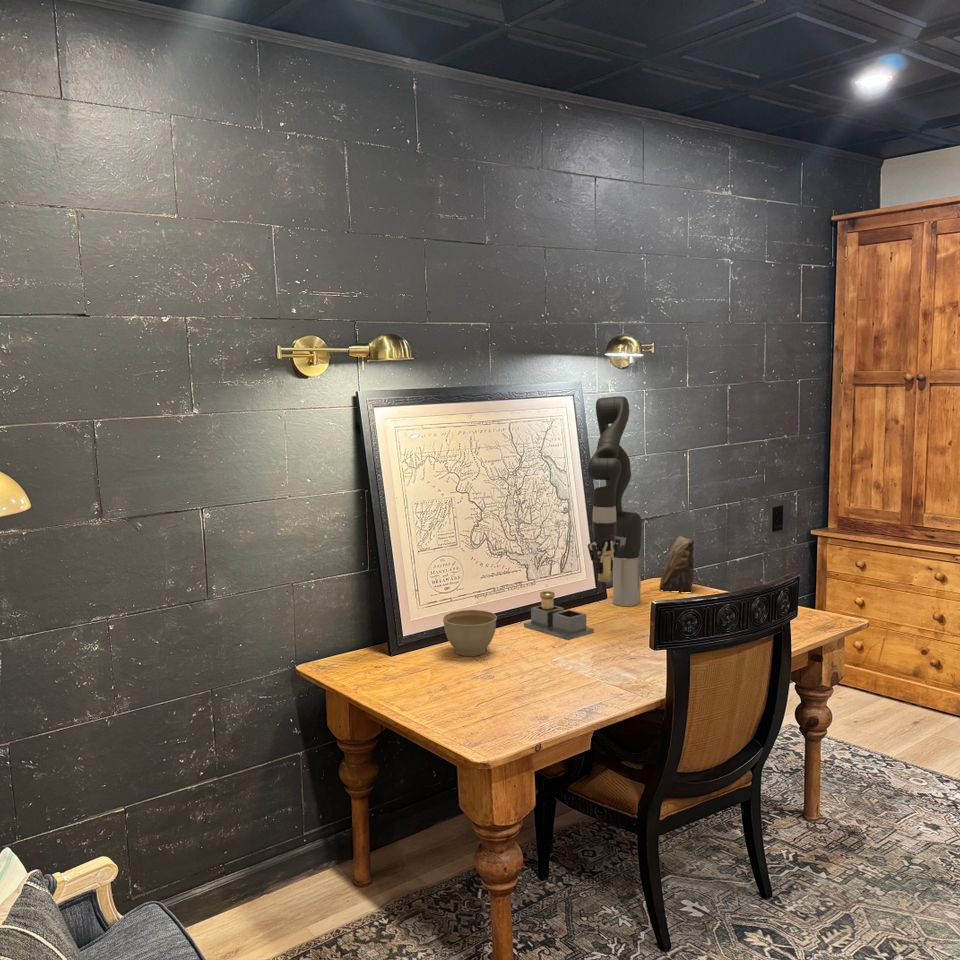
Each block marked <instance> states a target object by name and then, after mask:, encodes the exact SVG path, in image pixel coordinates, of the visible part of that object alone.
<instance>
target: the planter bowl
mask: <svg viewBox="0 0 960 960" xmlns="http://www.w3.org/2000/svg"><path fill="white" fill-rule="evenodd" d="M497 618H498V617H497V615H496V614H495V613H493V612H491V611H487V610H481V609H463V610H462V609H461V610H457V611H451V612H449V613H446V614H445V615H443V617H442V620H443V621H442V622H443V626H444V632H445V635H446V637H447V640H448V641H449V643H450V645H451V647H453V649H454V653H455V654H457V655H459V656H465V657H476V656H480V655H481V656H482V655H484V654H485V653H486V652H487V651H488V646H490V644H491V643H492V640H493V639H494V636H495V634H496V633H495V632H496V627H497V620H498V619H497Z"/></svg>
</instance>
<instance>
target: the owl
mask: <svg viewBox="0 0 960 960" xmlns="http://www.w3.org/2000/svg"><path fill="white" fill-rule="evenodd" d="M694 544H695V540H694V539H693V538H686V537H684V536H682V535H681V534H680V535H678V537H677V538H676V540H675V542H674V544H673V545H672V546H671V548H670V550H669V551H668V555H667V558H666V561H665V564H664V567H663V570H662V573H661V577H660V583H659V590H663V591H662V592H665V591H679V592H691V591H692V587H693V582H694V557H693V556H694V555H693V553H694V549H695V548H694Z"/></svg>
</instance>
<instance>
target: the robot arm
mask: <svg viewBox="0 0 960 960" xmlns="http://www.w3.org/2000/svg"><path fill="white" fill-rule="evenodd" d="M595 413H596V420H597V426H598V431H599V438H598V441H597V446H596V450H595V452H594V454H593V455H592V456H591V458H590V459H589V462H588V465H587V475H588V477H589V478H590V479H592V480H595V481H605V485H604V486H599V487H595V489H594V490H593V495H592V496H593V506H592V507H593V508H592V535H594V539H593V542H592V543H588V544H587V548H588V554H589V557H590V560H591V561H594V562H595V572H596V574H597V575H598V574H602V573H603V557H604V555H605V552H606V551H607V550H612V554H611V572H612V573H613V574H612V588H613V589H612V604H614V605H615V606H620V607H622V606H623V607H633V606H637V605H639V604H640V603H641V598H642V597H641V588H642V587H641V586H642V584H641V582H642V579H641V576H640V551H641V546H642V533H643V532H642V531H643V522H642V516H641V515H640V514H639V513H637V512H633V511H632V512H631V511H623V506H622V501H623V495H624V493H625V491H626V489H627V488H628V486H629V484H630V481H631V478H632V468H631V460H630V457H629V455H628V453H627V452H626V450H624V448H623V447H622V446H621V445H620V442H621V440H622V436H623V435H624V431H625V429H626V426H627V424H628V421H629V418H630V404H629V400H628V399H627V397H625V396H620V395H618V396H609V397H608V396H607V397H600V398H597V399H596V402H595ZM615 537H616V538H615ZM617 537H618V538H617ZM620 538H625V543H624V544H623V545H621V543H622V540H621V539H620ZM597 550H598V551H602V552H601V553H600V552H598V551H597ZM599 555H600V558H599Z"/></svg>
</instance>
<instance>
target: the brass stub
mask: <svg viewBox="0 0 960 960" xmlns="http://www.w3.org/2000/svg"><path fill="white" fill-rule="evenodd" d="M597 551H598V550H597ZM598 552H600V553H601V552H602V551H598ZM611 554H612V550H607V551H606V552H605V555H604V557H603V573H602V574H598V573H597V577H598V578H597V581H598V582H600V583H609V582H611V581H612V580H611V578H612V577H611V576H612V574H611V573H612V571H611ZM599 558H600V555H599Z"/></svg>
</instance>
